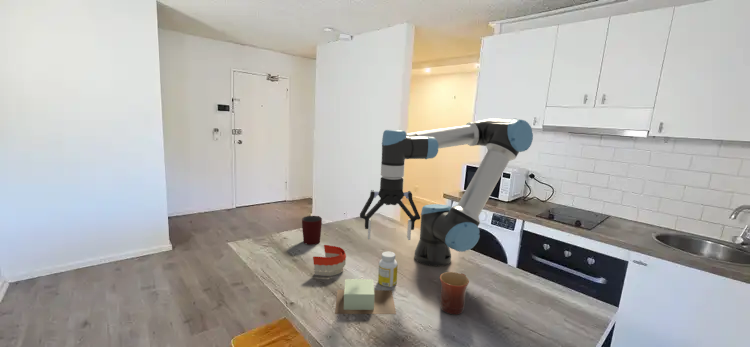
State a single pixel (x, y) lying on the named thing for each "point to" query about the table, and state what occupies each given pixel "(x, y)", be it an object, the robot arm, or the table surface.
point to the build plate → (381, 303)
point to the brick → (359, 294)
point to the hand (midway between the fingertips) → (388, 238)
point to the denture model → (330, 261)
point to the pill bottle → (387, 270)
